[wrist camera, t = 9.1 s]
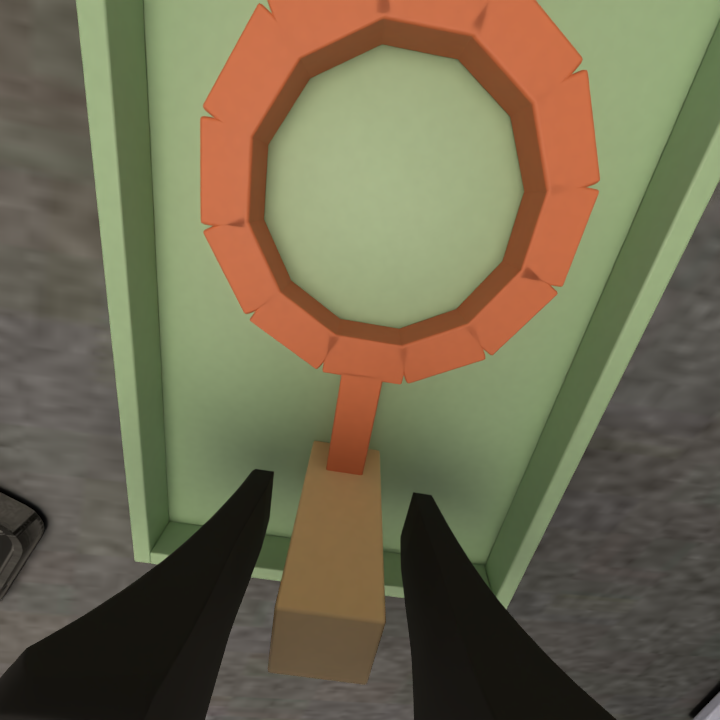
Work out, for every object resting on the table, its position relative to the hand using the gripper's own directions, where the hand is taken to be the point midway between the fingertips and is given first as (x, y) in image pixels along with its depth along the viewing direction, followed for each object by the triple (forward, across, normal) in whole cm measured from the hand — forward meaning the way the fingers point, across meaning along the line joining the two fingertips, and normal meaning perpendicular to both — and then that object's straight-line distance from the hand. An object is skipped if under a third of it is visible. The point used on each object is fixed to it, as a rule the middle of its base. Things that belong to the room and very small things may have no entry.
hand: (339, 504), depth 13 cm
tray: (+2, 0, -6) cm, 7 cm away
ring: (+2, 0, -6) cm, 6 cm away
